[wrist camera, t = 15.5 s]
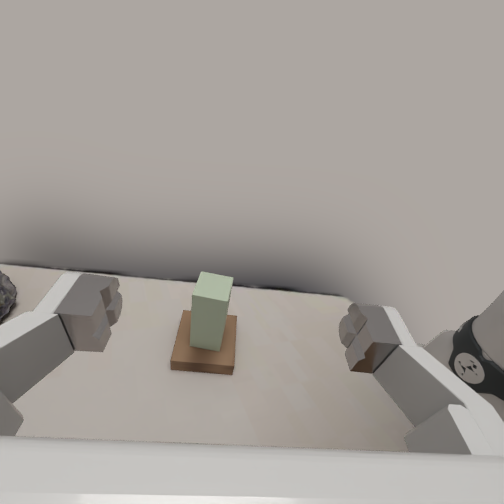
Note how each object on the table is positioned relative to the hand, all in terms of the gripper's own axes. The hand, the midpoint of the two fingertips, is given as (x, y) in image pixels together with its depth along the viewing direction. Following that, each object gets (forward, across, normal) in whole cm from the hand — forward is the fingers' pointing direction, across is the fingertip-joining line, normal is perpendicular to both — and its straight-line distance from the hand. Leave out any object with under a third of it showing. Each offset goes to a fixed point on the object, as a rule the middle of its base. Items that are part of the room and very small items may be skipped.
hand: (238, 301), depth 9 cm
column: (+18, +1, +29) cm, 35 cm away
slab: (+18, +1, +32) cm, 37 cm away
